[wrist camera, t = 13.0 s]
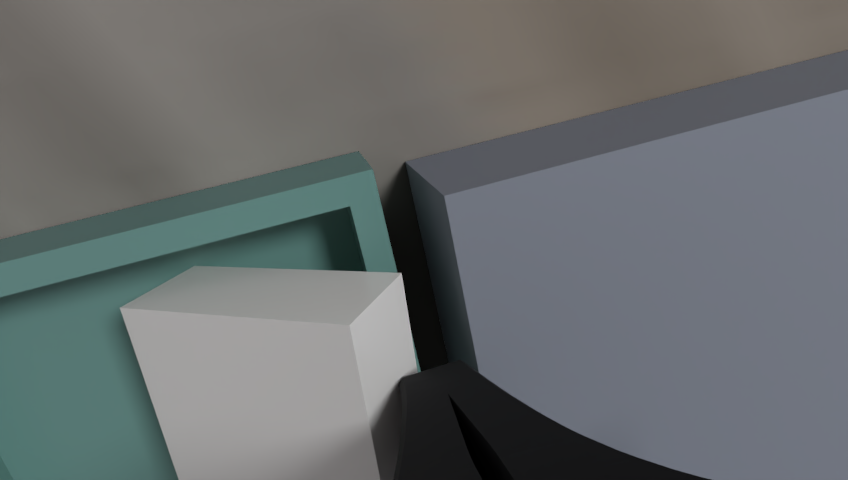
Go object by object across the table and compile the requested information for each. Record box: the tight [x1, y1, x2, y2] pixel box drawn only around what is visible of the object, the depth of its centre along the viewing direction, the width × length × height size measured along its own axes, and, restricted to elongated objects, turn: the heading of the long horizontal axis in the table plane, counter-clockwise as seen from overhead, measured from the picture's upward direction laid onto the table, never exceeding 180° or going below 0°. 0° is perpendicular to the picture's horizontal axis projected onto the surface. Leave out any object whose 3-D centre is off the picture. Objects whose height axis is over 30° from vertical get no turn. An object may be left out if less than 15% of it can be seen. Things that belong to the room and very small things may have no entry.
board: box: [405, 50, 848, 480], centre depth 16 cm, size 15×13×4 cm
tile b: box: [120, 266, 418, 480], centre depth 12 cm, size 5×5×2 cm
